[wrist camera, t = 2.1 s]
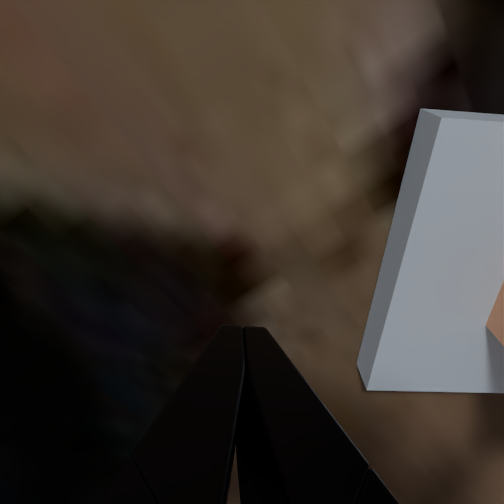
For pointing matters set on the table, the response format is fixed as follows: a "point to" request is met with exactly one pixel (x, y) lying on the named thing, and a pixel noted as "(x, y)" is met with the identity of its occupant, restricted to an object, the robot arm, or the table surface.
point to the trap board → (442, 263)
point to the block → (497, 317)
